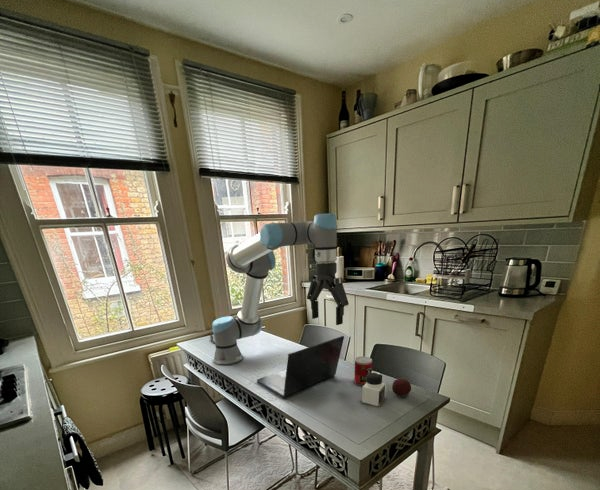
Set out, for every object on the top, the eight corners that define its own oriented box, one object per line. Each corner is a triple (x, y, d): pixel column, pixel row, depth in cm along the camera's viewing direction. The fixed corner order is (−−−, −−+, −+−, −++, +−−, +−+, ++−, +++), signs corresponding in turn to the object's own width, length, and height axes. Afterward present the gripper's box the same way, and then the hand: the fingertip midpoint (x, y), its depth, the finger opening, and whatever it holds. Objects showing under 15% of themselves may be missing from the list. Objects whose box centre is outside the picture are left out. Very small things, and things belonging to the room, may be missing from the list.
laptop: (257, 383, 148) (256, 379, 148) (305, 364, 165) (305, 361, 165) (283, 399, 133) (283, 395, 133) (334, 377, 150) (334, 373, 149)
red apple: (389, 390, 136) (390, 376, 133) (407, 390, 135) (409, 375, 132) (393, 399, 129) (395, 384, 126) (413, 399, 129) (414, 383, 126)
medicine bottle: (378, 406, 124) (380, 379, 120) (361, 402, 128) (362, 375, 123) (384, 398, 130) (386, 372, 125) (367, 394, 133) (369, 369, 129)
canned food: (361, 387, 140) (362, 364, 135) (350, 380, 146) (351, 358, 142) (375, 383, 143) (376, 360, 138) (364, 376, 149) (364, 355, 145)
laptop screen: (288, 354, 120) (289, 355, 120) (342, 335, 137) (344, 336, 137) (283, 395, 133) (284, 396, 132) (334, 373, 149) (335, 374, 149)
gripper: (296, 261, 118) (298, 317, 127) (344, 265, 100) (343, 329, 109) (311, 259, 122) (312, 313, 131) (359, 262, 105) (358, 324, 113)
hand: (326, 321), depth 120 cm, fingers open, 12 cm apart
